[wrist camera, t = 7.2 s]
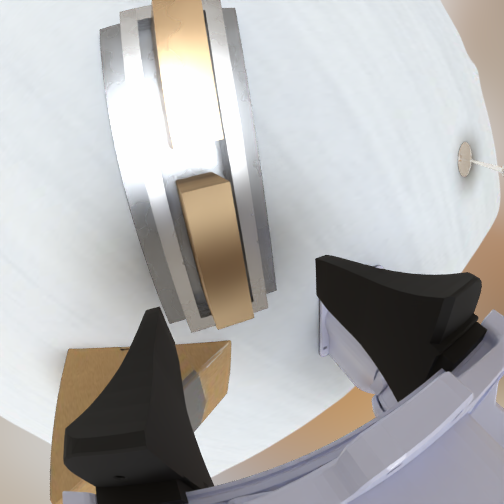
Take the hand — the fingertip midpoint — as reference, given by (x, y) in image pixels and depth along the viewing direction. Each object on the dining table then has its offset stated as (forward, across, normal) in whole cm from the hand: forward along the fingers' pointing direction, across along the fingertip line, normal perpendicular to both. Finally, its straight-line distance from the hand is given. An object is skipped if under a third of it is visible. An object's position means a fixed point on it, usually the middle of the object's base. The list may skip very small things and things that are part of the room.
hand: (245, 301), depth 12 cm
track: (+9, 0, -5) cm, 10 cm away
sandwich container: (+9, +8, +12) cm, 18 cm away
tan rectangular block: (+8, 0, 0) cm, 8 cm away
